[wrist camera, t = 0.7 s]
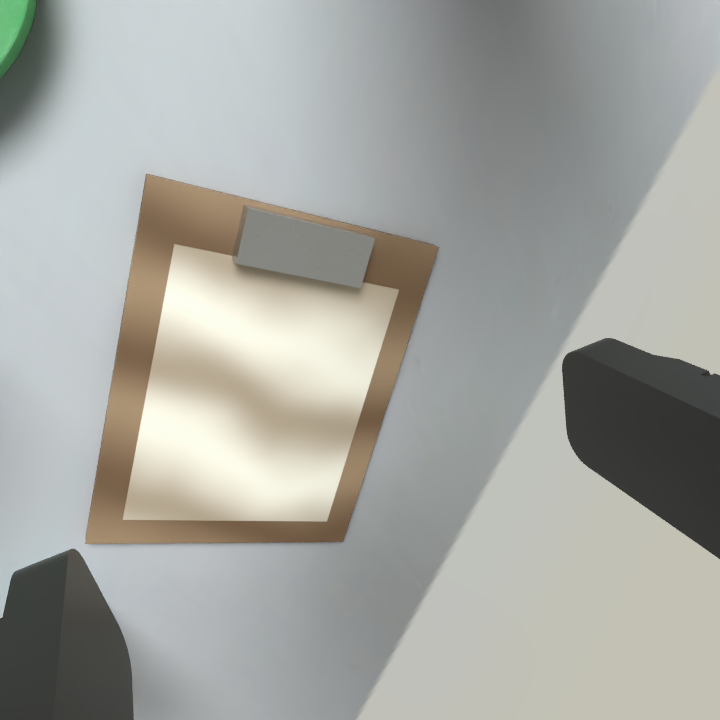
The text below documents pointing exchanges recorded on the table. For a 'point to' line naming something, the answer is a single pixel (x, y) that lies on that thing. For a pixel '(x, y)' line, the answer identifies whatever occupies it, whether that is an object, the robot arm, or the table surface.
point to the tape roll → (14, 29)
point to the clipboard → (249, 370)
